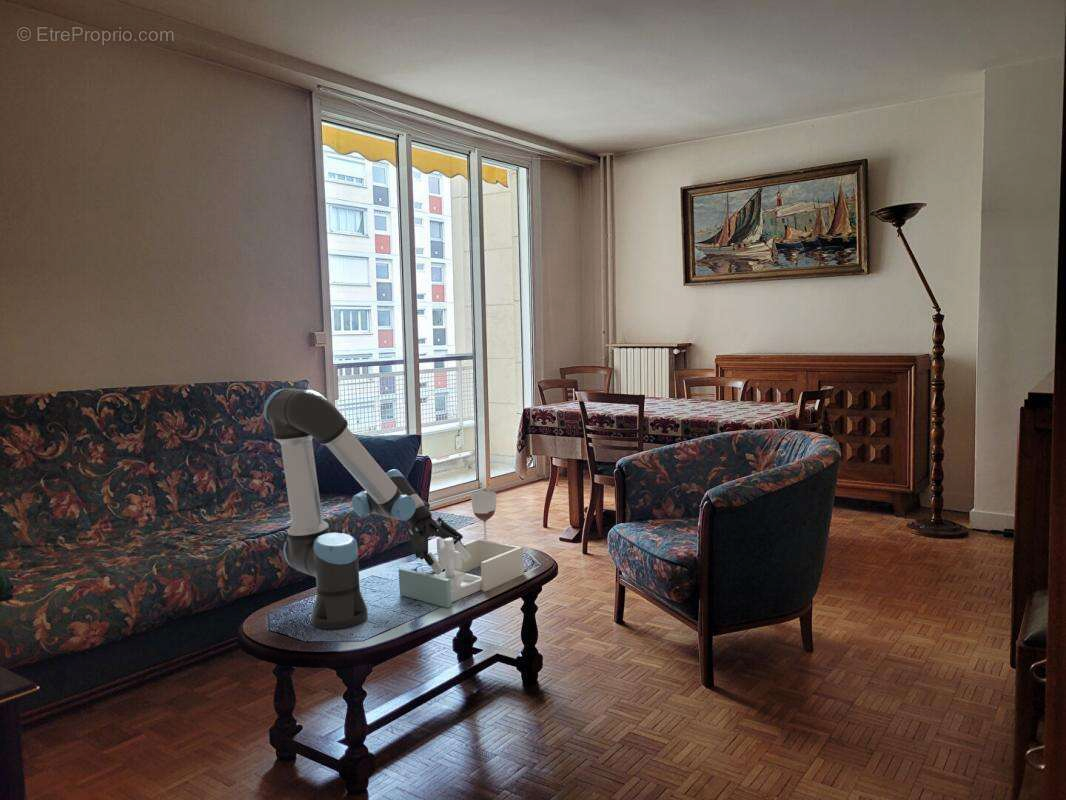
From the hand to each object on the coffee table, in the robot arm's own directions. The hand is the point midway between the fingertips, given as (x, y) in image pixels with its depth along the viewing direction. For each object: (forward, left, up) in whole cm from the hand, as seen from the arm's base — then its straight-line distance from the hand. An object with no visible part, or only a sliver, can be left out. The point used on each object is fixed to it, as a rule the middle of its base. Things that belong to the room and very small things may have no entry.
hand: (454, 566), depth 235 cm
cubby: (+10, +11, -8) cm, 17 cm away
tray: (-3, +1, -8) cm, 9 cm away
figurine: (-1, +2, -7) cm, 8 cm away
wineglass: (+17, +33, -8) cm, 38 cm away
